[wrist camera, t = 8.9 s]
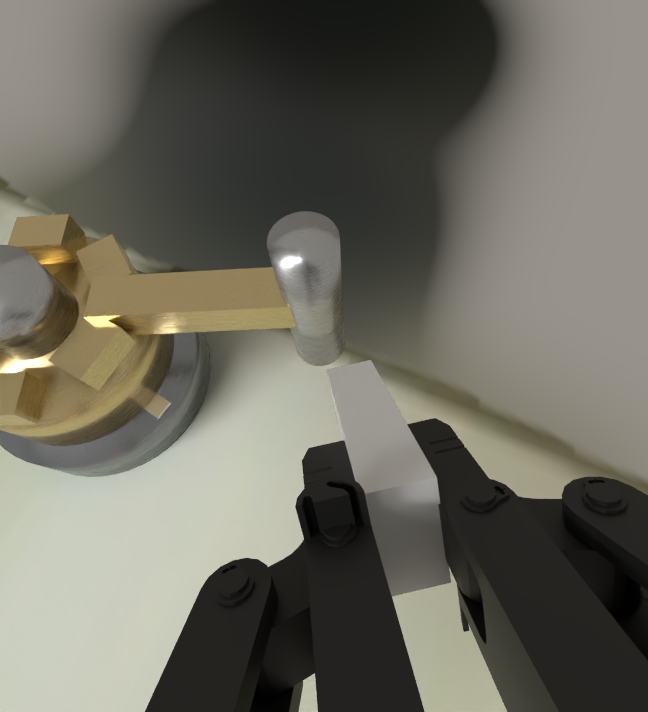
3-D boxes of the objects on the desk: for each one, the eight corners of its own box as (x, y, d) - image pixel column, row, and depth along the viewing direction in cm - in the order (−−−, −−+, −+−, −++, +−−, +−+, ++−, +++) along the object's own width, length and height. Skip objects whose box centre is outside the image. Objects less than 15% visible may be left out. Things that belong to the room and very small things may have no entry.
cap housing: (-23, 407, 27) (-71, 388, 24) (112, 266, 31) (86, 235, 28) (116, 520, 24) (81, 515, 21) (249, 347, 28) (236, 322, 25)
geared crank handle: (-31, 449, 23) (-242, 393, 15) (20, 283, 27) (-123, 168, 19) (348, 436, 22) (345, 368, 14) (341, 265, 26) (335, 137, 18)
